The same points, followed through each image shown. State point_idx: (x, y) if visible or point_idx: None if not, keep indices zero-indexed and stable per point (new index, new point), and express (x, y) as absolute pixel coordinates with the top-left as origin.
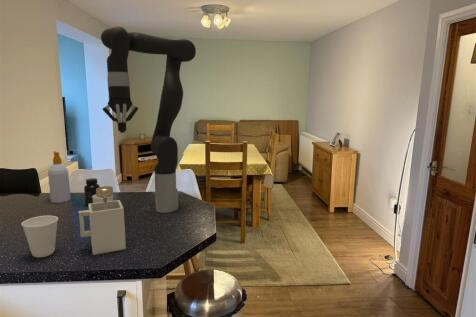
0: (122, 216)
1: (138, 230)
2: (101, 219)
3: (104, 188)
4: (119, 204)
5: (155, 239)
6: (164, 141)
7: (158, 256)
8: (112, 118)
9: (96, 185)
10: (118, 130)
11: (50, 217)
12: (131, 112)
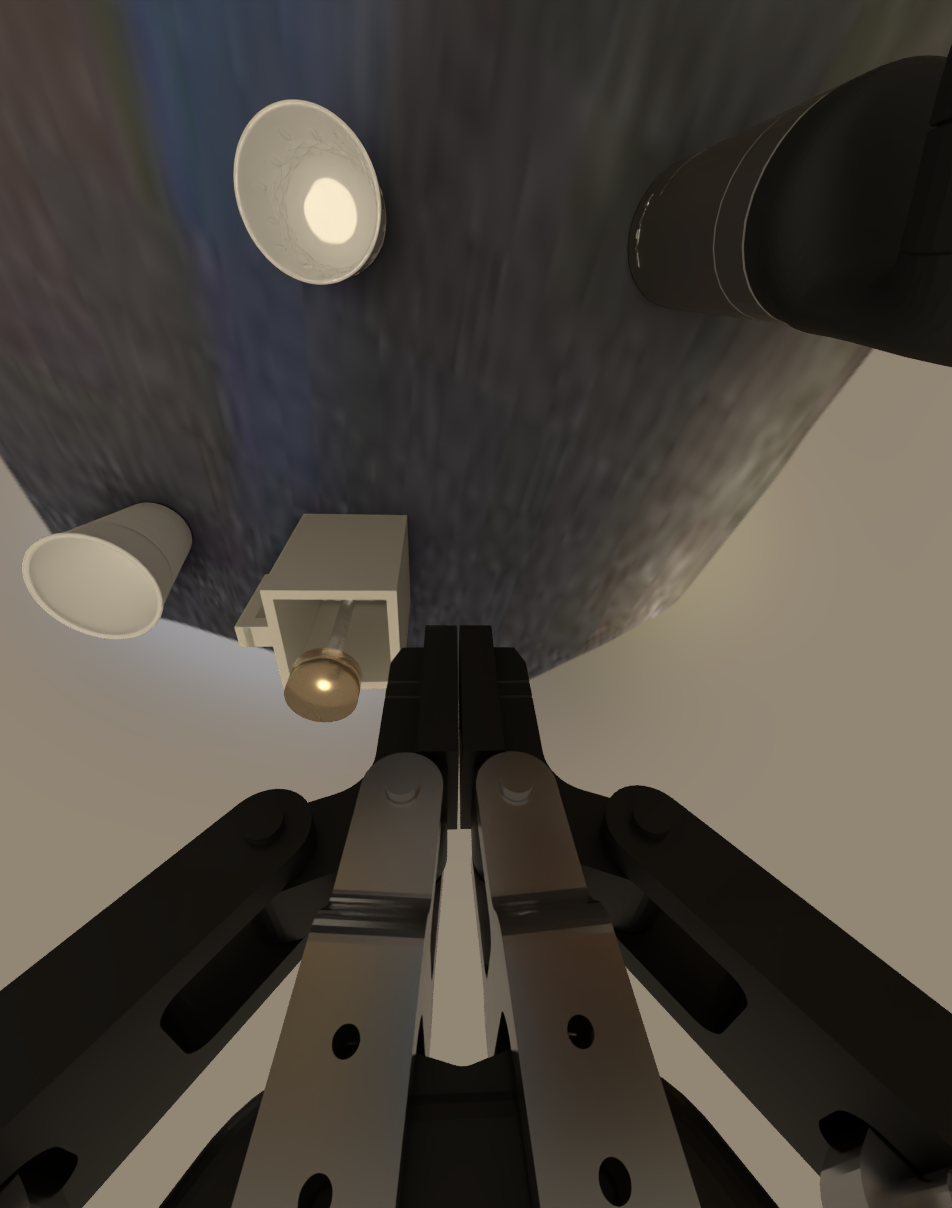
0: None
1: (474, 474)
2: None
3: (321, 701)
4: (391, 646)
5: (506, 573)
6: None
7: None
8: (249, 943)
9: None
10: (398, 658)
11: (113, 542)
12: (763, 1088)
